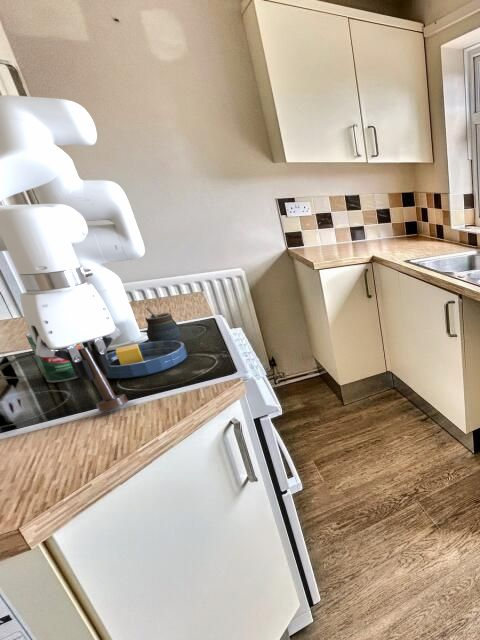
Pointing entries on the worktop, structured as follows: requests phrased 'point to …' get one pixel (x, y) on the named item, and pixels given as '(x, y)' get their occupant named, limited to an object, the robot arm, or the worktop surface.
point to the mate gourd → (162, 327)
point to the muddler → (102, 383)
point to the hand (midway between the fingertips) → (95, 375)
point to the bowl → (148, 359)
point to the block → (129, 354)
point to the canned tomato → (54, 365)
